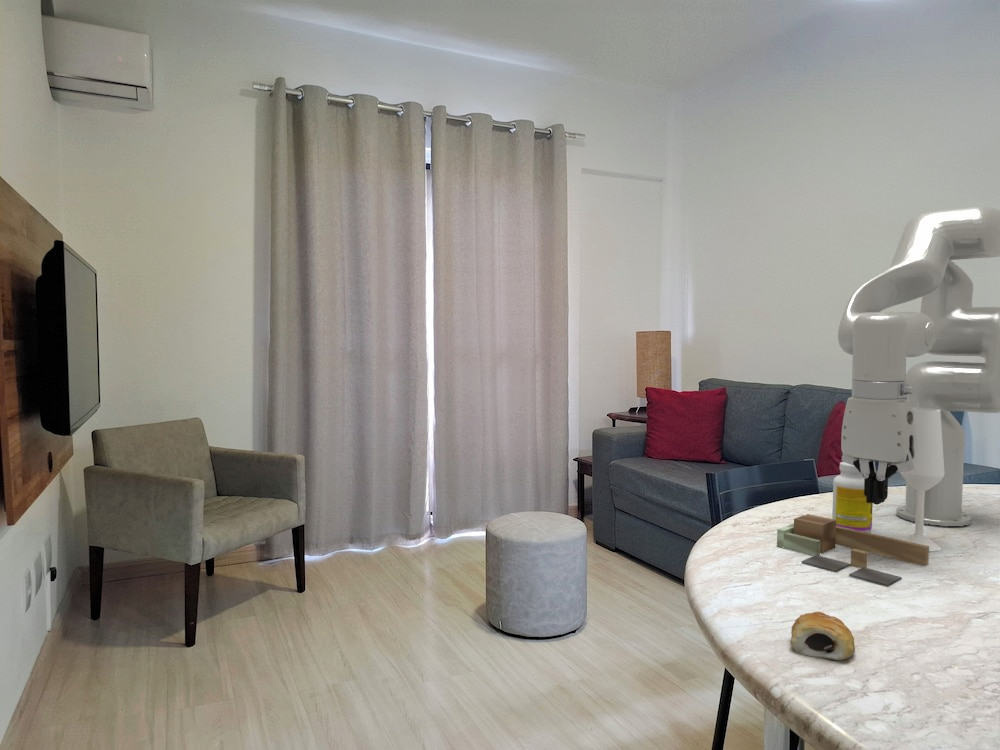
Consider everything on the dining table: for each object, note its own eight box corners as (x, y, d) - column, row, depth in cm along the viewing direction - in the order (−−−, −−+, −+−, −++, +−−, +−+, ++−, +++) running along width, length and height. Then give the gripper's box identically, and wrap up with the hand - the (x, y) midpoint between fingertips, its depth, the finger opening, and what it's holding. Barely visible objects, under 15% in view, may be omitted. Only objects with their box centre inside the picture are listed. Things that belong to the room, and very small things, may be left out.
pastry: (794, 623, 86) (796, 594, 86) (854, 635, 83) (855, 605, 83) (788, 654, 78) (790, 622, 78) (854, 668, 75) (856, 635, 74)
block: (807, 541, 120) (807, 514, 120) (835, 548, 116) (836, 520, 116) (793, 546, 117) (793, 518, 117) (821, 554, 113) (822, 525, 113)
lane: (806, 535, 123) (807, 519, 123) (928, 564, 108) (929, 546, 108) (761, 551, 114) (761, 534, 114) (887, 586, 98) (888, 566, 98)
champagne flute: (917, 537, 122) (922, 406, 121) (950, 549, 116) (957, 410, 114) (887, 540, 120) (892, 407, 119) (920, 552, 114) (925, 412, 112)
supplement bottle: (876, 538, 122) (879, 468, 121) (837, 535, 123) (839, 466, 123) (864, 527, 129) (867, 461, 128) (827, 525, 130) (829, 460, 129)
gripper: (939, 392, 105) (935, 507, 106) (841, 385, 116) (840, 489, 118) (920, 396, 100) (916, 517, 102) (820, 389, 112) (819, 497, 113)
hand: (875, 501), depth 110 cm, fingers closed
